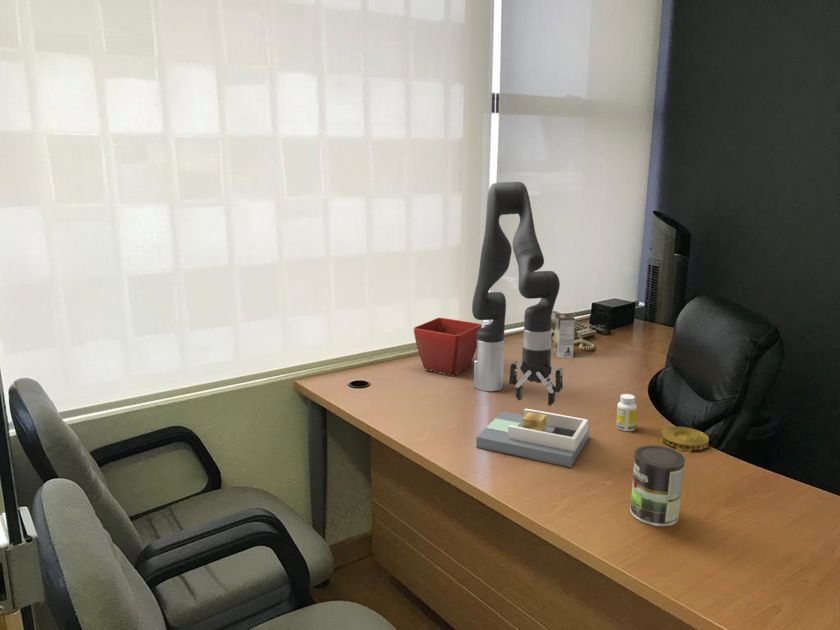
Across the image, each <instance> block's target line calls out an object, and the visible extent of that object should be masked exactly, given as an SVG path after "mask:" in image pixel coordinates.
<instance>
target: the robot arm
mask: <svg viewBox="0 0 840 630" xmlns="http://www.w3.org/2000/svg"><path fill="white" fill-rule="evenodd" d="M531 205H532V204H531V201H530V196H529V192H528V189H527V187H526V184H525V183H524V182H521V181H506V182H505V181H504V182H495V183H492V184H491V185H490V187H489V189H488V193H487V200H486V214H485V215H486V218H485V229H484V236H483V241H482V247H481V252H480V260H479V269H478V276H477V281H476V286H475V289H474V293H473V299H472V306H471V310H472V315H473V318H474V319H476V320H477V321H491V322H490V323H489V324H487V325H486V326H484V327H481V329H479V330H478V331H477V348H476V351H475V354H476V357H475V360H474V361H473V388H475V389H478V390H481V391H483V392H484V391H485V392H497V391H500V390H502V389H503V387H504V354H505V352H504V351H505V348H504V347H505V329H506V327H505V325H506V324H505V323H506V314H507V313H506V312H507V311H506V310H507V301H506V296H505V293H504V292H501V291H493V292H492V291H490V290H491V289H492V287H493V286H495V284H496V283H497V282H498V281H499V280H500V279H501V278H502V277H503V276H504V275H505V274H506V272H507V271H508V269H509V266H510V263H511V257H512V252H513V254H514V257H515V258H516V262H517V268H518V269H517V270H518V292H519V293H520V295H521V296H522V297H523V298H525V299H529V300H530V299H534V300H535V299H540V300H539V302H538V303H536V304H534V305H531V306H528V307H526V309H525V311H524V316H523V317H524V318H523V319H524V324H523V325H524V326H523V334H522V359H521V360H522V361H521V363H518V362H517V361H514V362H512V363H511V364H510V369H509V379H508V380H509V381H508V382H509V385H513V386H514V387H515V398H516V399H517V401H519V402H521V401H522V400H523V396H524V395H523V393H524V386H523V384H524V383H525V382H526V380H527V381H529V382H531V383H533V382H535V383H538V384H541V383H542V384H543V386H544V387H545V388H546V389H547V390H548V393H547V394H548V395H547V396H548V397H547V406H550V407H552V405H553V404H554V403H555V401H556V393H560V392H561V390H562V389H563V388H564V387H563V386H564V385H563V384H564V382H563V381H564V380H563V379H564V378H563V377H564V376H563V368H561V367H559V368H552V364H551V362H552V360H551V359H552V345H553V344H552V343H553V342H552V316H553V315H552V314H553V311H554V307H555V303H556V300H557V297H558V294H559V292H560V287H561V282H560V278H559V276H558V274H557V273H556V272H555V271H552V270H542V271H538V270H540V269H542V267H543V266H544V264H545V258H544V255H543V252H542V250H541V246H540V244H539V241H538V237H537V233H536V229H535V223H534V217H533V216H534V215H533V211H532V206H531ZM517 214H518V216H519V223H518V226H517V228H516V231H515V233H514V235H513V239H512V245H511V243H510V241H509V239H508V237H507V236H506V234H505V233H504V231H503V230H502V226H501V225H500V218H501V216H505V215H517ZM519 371H521V372H522V374H523V375H522V377H521V378H519V380H518V379H517V377H518V372H519ZM551 374H552V375H553V377H554V378H555V384H554V382H553V380H552V378H551V377H550V375H551Z"/></svg>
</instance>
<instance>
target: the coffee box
mask: <svg viewBox="0 0 840 630" xmlns="http://www.w3.org/2000/svg"><path fill="white" fill-rule="evenodd" d="M575 329H576V318H575V317H574V316H573V314H572V313H570V312H569V313H566V312H565V313H555V314H554V335H553V338H554V339H553V340H554V341H553V352H554V353H555V355H556V357H557V359H573V358H574V349H575V348H574V347H575V346H574V344H575V331H576V330H575Z"/></svg>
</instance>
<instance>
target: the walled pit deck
mask: <svg viewBox="0 0 840 630" xmlns="http://www.w3.org/2000/svg"><path fill="white" fill-rule="evenodd" d="M528 412H530V413H536V414H542V415H546V429H545V432H543V431H538V430H533V429H528V428H523V418H524V417H525V416H526V415H527V413H528ZM588 421H589V420H588V419H586V418H580V417H575V416H571V415H570V416H569V415H563V414H558V413H553V412H547V411H541V410H535V409H529V408H524V409H523V414H520V413H513V412H509V411H508V412H507V411H501V412H500V413H499V414H497V416H496V417H495V418H494V419H493V420H492V421H491V422H490V423H488V425H486V427H485V428H484V429H483V430H481V432H480V433H479V434H478V435H477V436H476V441H475V443H476V446H475V447H476V448H478V447H479V449H483V450H487V449H488V450H489V451H493V452H497V451H498V453H501V452H502V453H501V454H506V453H507V455H511V454H513V455H512V456H515V455H517V457H520V456H521V458H525V457H526V458H525V459H529V458H530V460H535V461H539V462H543V463H548V464H554V465H558V466H563V467H567V468H572V466H573V464H574V463H575V461H576V459H577V458H578V456H579V454H580V453H581V452H582V450H583V448H584V447H585V445H586V443H587V441H588V440H589V439H590V430H591V428H590V426H588V425H589V423H588Z"/></svg>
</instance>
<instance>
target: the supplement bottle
mask: <svg viewBox="0 0 840 630" xmlns="http://www.w3.org/2000/svg"><path fill="white" fill-rule="evenodd" d="M619 399H620V401H619V402H618V403H617V405H616V406H617V408H616V421H615V423H616V424H615V427H616V429H618V430H619V431H623V432H633V431H635V429H636V426H637V425H636V424H637V410H638V408H637V407H638V406H637V403H636V396H635V395H633V394H629V393H623V394H620V397H619Z"/></svg>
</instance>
